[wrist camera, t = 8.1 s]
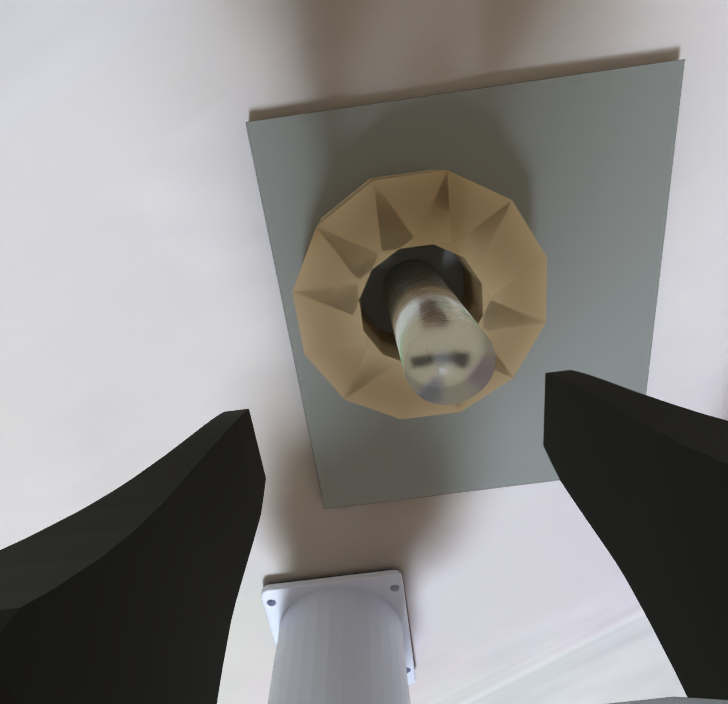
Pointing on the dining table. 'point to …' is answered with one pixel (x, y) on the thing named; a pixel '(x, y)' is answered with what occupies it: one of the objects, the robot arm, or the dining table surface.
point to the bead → (410, 229)
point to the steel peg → (436, 336)
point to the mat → (542, 215)
